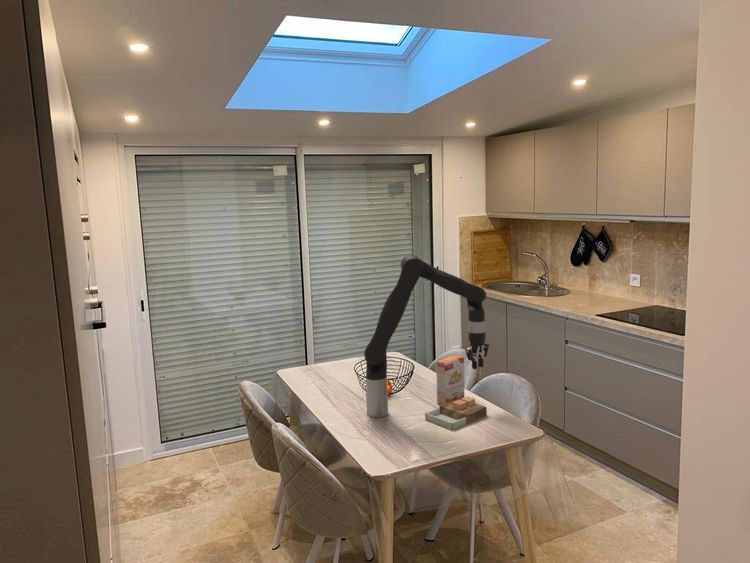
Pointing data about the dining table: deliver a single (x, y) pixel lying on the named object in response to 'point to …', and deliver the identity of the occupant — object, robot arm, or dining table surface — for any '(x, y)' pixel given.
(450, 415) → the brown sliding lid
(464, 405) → the tile
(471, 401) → the tile
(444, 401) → the cracker box
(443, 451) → the dining table surface
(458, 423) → the tray
